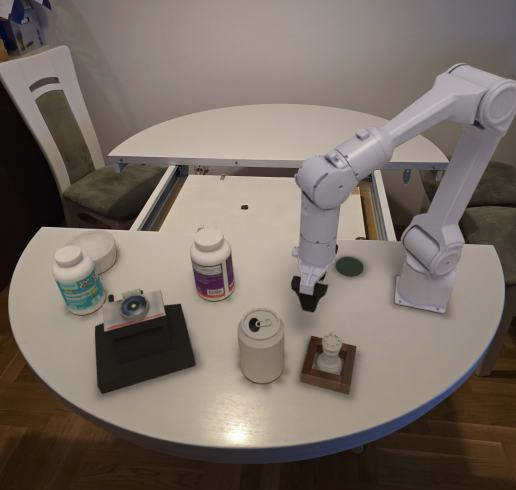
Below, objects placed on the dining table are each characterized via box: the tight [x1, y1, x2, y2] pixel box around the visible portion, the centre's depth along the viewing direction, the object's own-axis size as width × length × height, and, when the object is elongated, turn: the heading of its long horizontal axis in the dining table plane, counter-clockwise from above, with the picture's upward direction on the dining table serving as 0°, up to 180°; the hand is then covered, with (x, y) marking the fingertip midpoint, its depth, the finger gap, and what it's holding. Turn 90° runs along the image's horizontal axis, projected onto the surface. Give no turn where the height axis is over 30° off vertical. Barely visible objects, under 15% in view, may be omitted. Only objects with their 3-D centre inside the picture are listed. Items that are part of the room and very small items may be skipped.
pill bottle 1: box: [51, 246, 106, 316], centre depth 79 cm, size 8×7×14 cm
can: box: [237, 307, 285, 384], centre depth 66 cm, size 8×8×12 cm
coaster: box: [335, 256, 364, 277], centre depth 89 cm, size 6×6×1 cm
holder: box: [300, 335, 357, 395], centre depth 69 cm, size 8×8×2 cm
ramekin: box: [64, 229, 117, 275], centre depth 91 cm, size 11×11×5 cm
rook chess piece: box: [315, 332, 343, 375], centre depth 67 cm, size 4×4×8 cm
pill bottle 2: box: [189, 226, 236, 302], centre depth 81 cm, size 8×8×14 cm
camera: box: [94, 288, 197, 395], centre depth 70 cm, size 16×14×15 cm
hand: (313, 293), depth 70 cm, fingers open, 7 cm apart
